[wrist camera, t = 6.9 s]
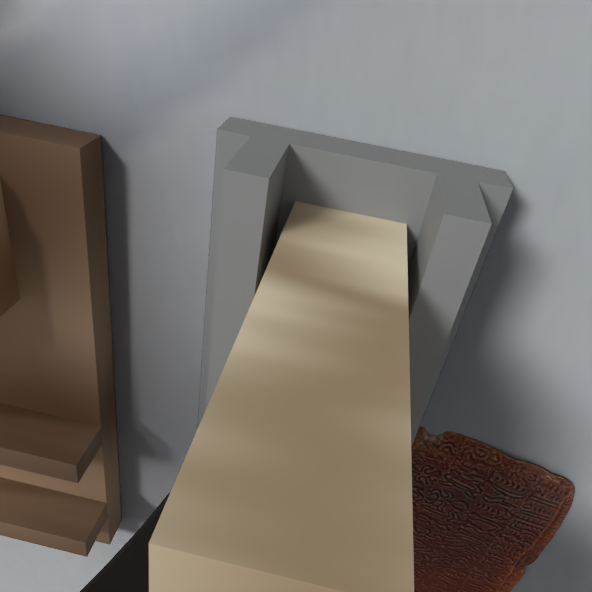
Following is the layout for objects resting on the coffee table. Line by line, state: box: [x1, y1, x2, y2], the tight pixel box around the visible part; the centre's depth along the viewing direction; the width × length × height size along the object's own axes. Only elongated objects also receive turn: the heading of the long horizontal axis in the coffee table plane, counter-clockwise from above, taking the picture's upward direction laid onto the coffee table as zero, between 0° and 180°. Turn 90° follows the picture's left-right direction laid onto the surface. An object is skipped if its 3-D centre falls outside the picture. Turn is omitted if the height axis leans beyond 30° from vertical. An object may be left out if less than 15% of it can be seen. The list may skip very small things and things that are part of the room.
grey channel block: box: [197, 117, 513, 446], centre depth 14 cm, size 12×6×3 cm, turn 172°
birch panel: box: [149, 201, 414, 592], centre depth 11 cm, size 2×10×8 cm, turn 172°
